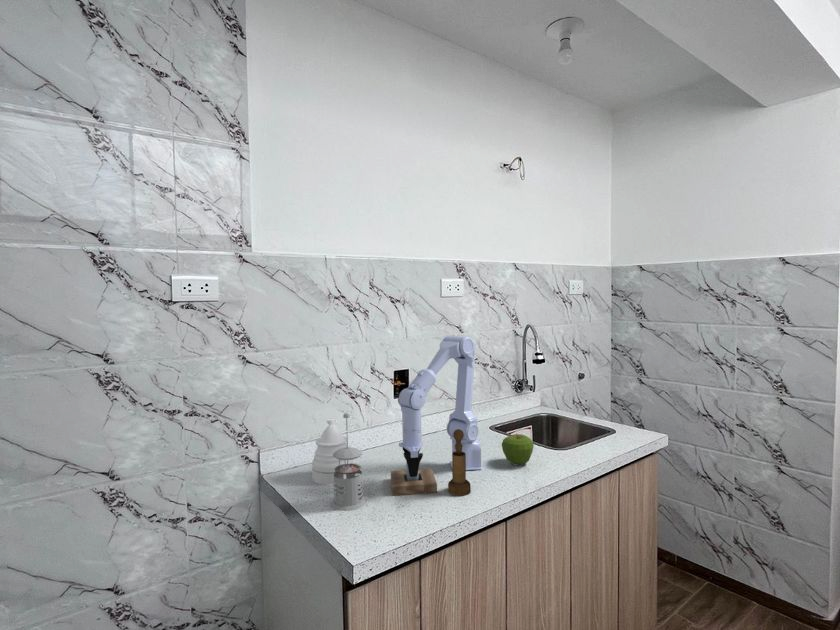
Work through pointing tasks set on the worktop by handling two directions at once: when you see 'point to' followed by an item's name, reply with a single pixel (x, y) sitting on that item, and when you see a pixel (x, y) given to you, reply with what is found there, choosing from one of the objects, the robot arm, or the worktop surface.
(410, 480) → the peg
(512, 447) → the apple
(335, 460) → the honey pot
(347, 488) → the french press
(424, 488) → the socket block
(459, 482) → the mortar and pestle
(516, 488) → the worktop surface
